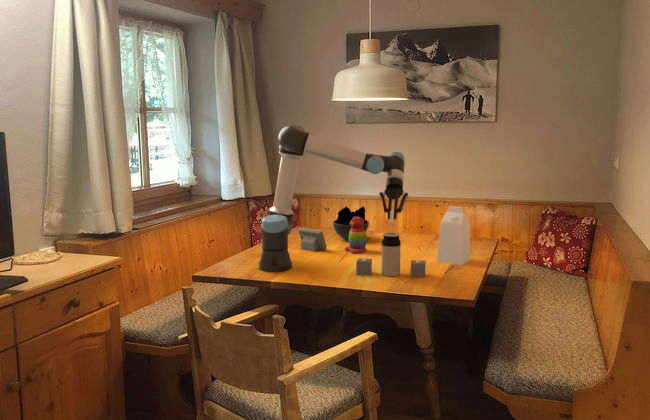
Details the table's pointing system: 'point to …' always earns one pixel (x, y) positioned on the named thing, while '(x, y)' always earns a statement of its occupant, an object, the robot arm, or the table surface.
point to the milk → (454, 237)
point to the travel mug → (391, 254)
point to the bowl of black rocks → (348, 221)
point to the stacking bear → (357, 236)
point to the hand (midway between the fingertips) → (391, 224)
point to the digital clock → (312, 240)
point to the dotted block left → (363, 266)
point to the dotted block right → (418, 268)
